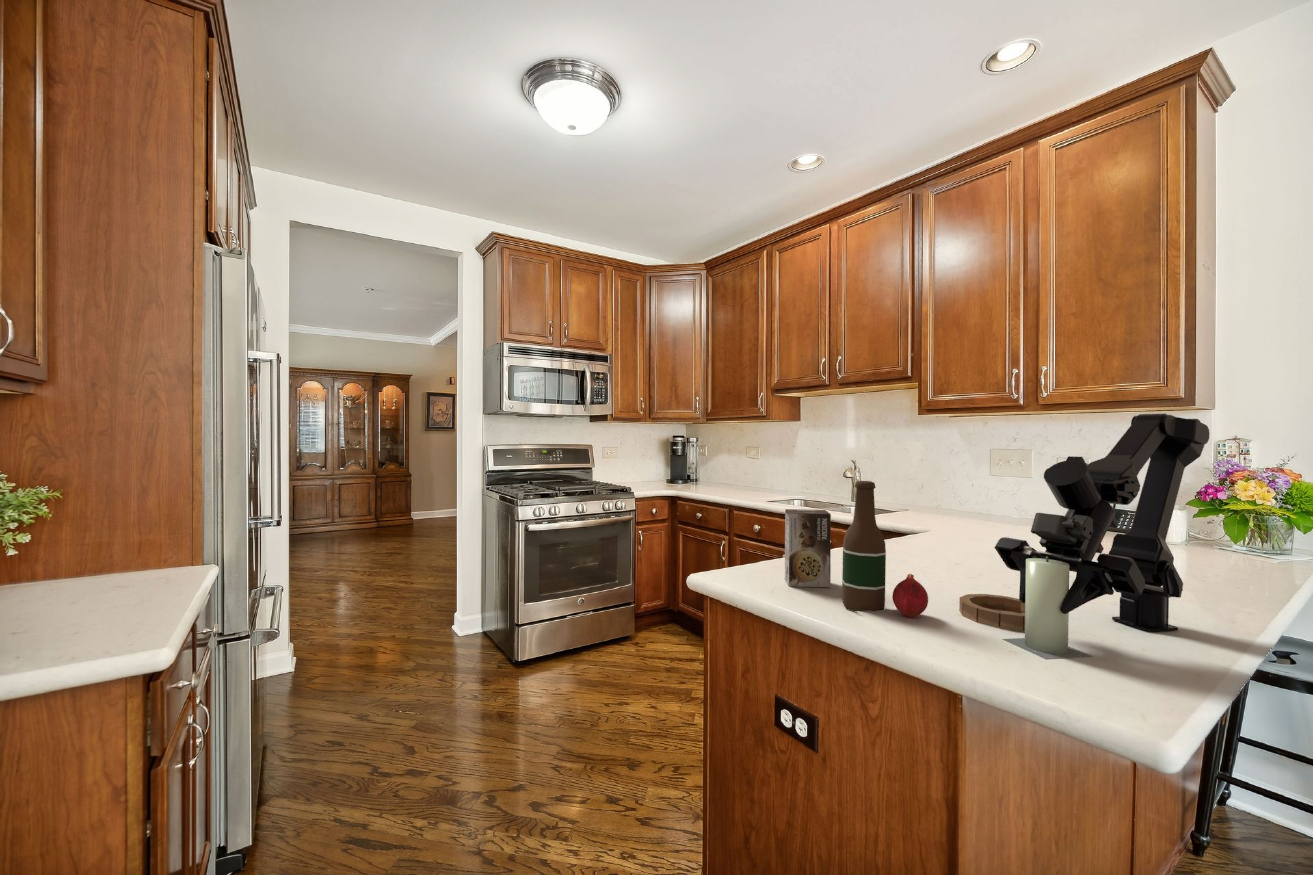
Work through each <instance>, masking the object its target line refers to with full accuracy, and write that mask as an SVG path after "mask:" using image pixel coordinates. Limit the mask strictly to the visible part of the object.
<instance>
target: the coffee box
mask: <svg viewBox="0 0 1313 875" xmlns="http://www.w3.org/2000/svg"><path fill="white" fill-rule="evenodd" d="M784 510H785V511H784V518H785V521H784V523H785V526H784V527H785V528H784V580H785V583H786V584H787V586H788V587H796V588H797V587H803V588H805V587H806V588H831V582H832V581H831V573H832V572H831V564H832V562H831V556H832V555H831V554H832V553H831V533H832V531H831V530H832V529H831V525H832V522H831V521H832V520H831V519H832V517H831V516H832V514H831V512H829V511H827V510H826V509H807V508H806V509H798V508H795V509H794V508H793V509H792V508H791V509H790V508H789V509H788V508H786V509H784Z"/></svg>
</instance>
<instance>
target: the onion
mask: <svg viewBox="0 0 1313 875" xmlns="http://www.w3.org/2000/svg"><path fill="white" fill-rule="evenodd" d="M892 602H893V604H894V606H895V608H896V609H897V610H898V612H899V613H900V614H902V615H903V617H907V618H916V617H918V616H920V615H921V614H922V613H923V612H925V611H926V609H927V607H928V604H929V595H928V592H927V590H926V589H925V587H924V586H923V585H922V584H921V583H920V581H918V580H916V579H915V574H912V573H908V574H907V575H906V578H905V579H903V580H901V581H899V583H898V584H896V585H895V587H894V589H893V591H892Z"/></svg>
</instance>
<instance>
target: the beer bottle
mask: <svg viewBox="0 0 1313 875" xmlns="http://www.w3.org/2000/svg"><path fill="white" fill-rule="evenodd" d="M854 484H855V485H854V488H856V489H855V498H854V499H855V502H854V510H853V511H854V514H853V520H852V523H851V524H850V525H849V527H848V528H847V530H846V532H845V534H844V535H843V536H844V537H843V542H842V543H843V544H842V572H841V573H842V574H841V575H842V581H841V583H842V584H841V595H842V596H841V598H842V600H841V601H842V605H843V607H844V608H845V610H848V609H849V610H848V611H851V610H853V611H852V612H854V611H856V612H877V611H885V605H886V571H887V570H886V565H887V564H886V562H887V558H886V557H887V550H886V540H885V538H884V534H883V533H882V531H881V530H880V528H879V527H878V525H877V520H876V511H875V510H876V509H875V508H876V506H875V489H876V487H877V486H876V484H875V482H874V481H872V480H871V481H870V480H857V481H855V483H854Z"/></svg>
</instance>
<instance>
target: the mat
mask: <svg viewBox="0 0 1313 875" xmlns="http://www.w3.org/2000/svg"><path fill="white" fill-rule="evenodd" d="M1002 640H1003V641H1005V642H1007V643H1010V644H1011V645H1013V646H1016V647H1018V648H1020V649H1023V650H1025V651H1027V652H1029V653H1031V654H1033V655H1036V656H1038V657H1039V658H1042V659H1044V660H1059V659H1077V658H1093V657H1094V656H1093V655H1091V654H1088V653H1086V652H1083V651H1081V650H1078V649H1076V648H1074V647H1071V646H1069V645H1068V653H1066V654H1050V653H1045V652H1040V651H1037V650H1034V649H1031V648H1029V647H1027V646H1026V645H1025V637H1016V638H1002Z"/></svg>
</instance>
